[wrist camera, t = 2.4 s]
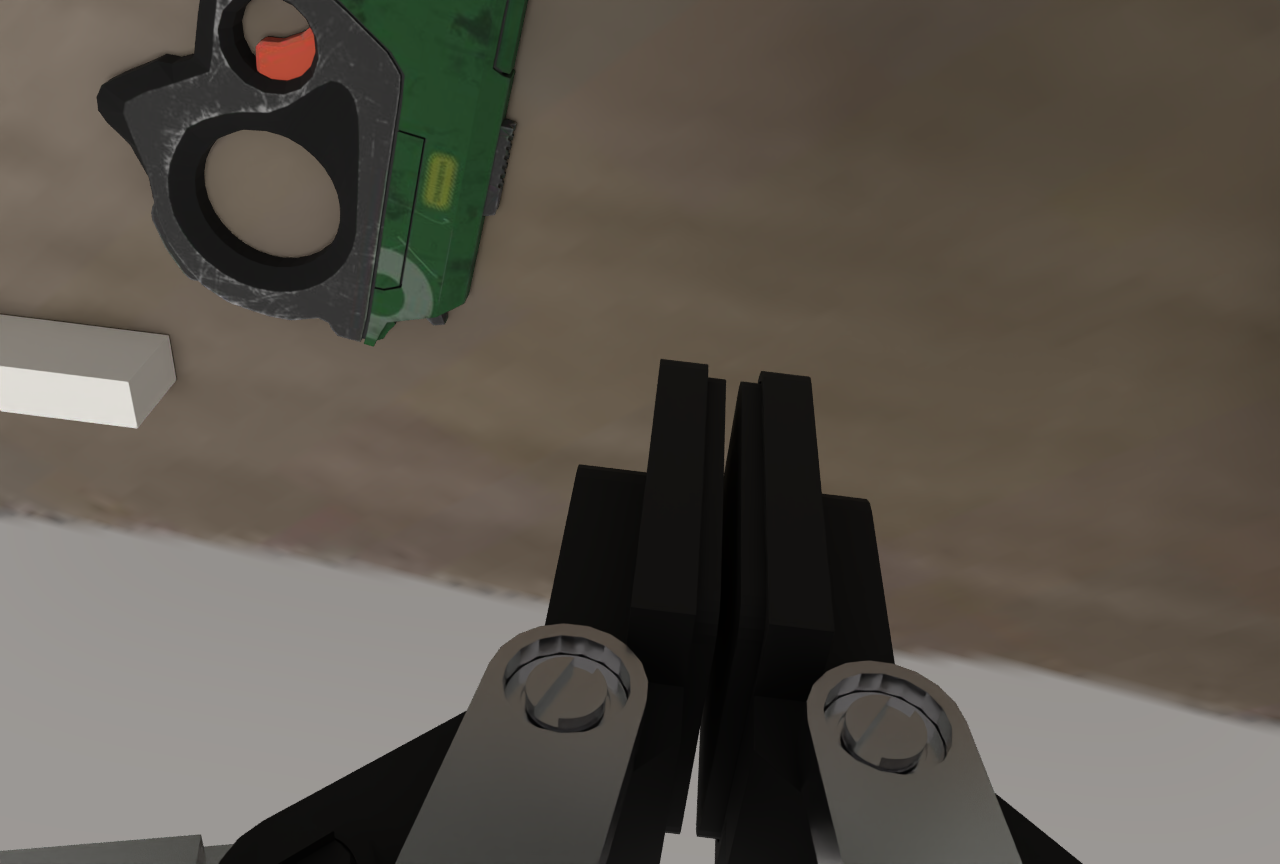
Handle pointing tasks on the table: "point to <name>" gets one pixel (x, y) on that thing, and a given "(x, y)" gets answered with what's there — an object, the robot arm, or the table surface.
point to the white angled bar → (82, 371)
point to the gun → (337, 150)
